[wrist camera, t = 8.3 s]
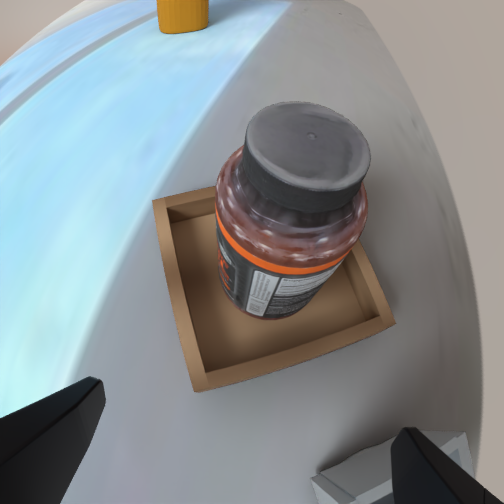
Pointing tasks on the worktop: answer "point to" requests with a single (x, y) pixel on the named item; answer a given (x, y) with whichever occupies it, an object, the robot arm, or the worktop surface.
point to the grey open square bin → (380, 471)
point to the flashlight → (182, 15)
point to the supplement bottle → (289, 207)
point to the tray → (244, 326)
